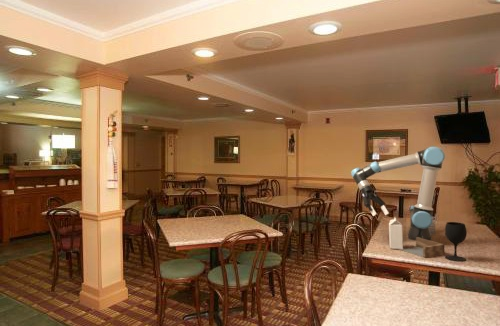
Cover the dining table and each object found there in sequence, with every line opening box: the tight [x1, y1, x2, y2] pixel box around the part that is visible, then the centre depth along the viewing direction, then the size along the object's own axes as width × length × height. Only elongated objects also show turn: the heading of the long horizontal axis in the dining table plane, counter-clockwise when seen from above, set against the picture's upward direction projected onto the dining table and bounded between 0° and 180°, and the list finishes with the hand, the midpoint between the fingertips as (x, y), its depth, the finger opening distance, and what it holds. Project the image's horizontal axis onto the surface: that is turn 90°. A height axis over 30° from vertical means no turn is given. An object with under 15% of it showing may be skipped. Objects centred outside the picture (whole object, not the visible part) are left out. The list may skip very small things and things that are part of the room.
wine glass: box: [444, 221, 467, 263], centre depth 184 cm, size 10×10×20 cm
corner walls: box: [415, 237, 445, 259], centre depth 198 cm, size 16×19×6 cm
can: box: [429, 216, 436, 235], centre depth 247 cm, size 11×11×12 cm
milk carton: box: [388, 217, 404, 250], centre depth 207 cm, size 7×7×19 cm
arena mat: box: [399, 246, 424, 258], centre depth 198 cm, size 15×16×1 cm
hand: (381, 214), depth 216 cm, fingers open, 13 cm apart
